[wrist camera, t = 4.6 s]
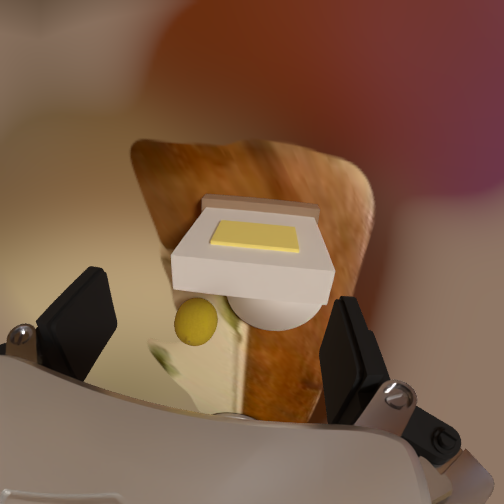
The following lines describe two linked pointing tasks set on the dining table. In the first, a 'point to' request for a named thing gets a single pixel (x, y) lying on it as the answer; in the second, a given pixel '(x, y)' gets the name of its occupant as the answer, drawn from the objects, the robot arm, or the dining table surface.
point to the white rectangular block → (255, 251)
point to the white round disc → (272, 312)
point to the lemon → (195, 321)
